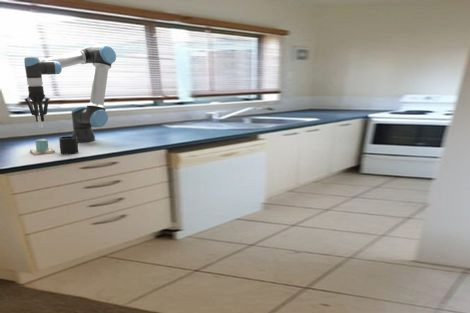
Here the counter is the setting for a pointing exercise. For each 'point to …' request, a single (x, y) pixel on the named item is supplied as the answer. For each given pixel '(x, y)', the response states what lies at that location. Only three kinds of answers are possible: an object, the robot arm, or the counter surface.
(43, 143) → the cap
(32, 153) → the post block
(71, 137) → the mug
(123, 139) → the counter surface
